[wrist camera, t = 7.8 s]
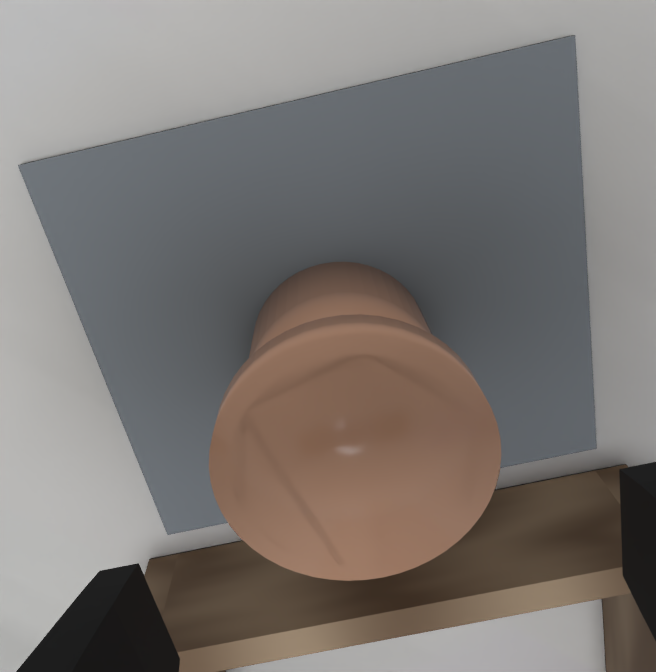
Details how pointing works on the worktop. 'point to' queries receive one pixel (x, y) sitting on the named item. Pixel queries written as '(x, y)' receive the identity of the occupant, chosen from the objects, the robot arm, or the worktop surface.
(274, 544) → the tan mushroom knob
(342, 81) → the worktop surface
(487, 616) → the shallow wooden tray
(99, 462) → the worktop surface
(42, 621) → the worktop surface
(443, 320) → the slate mat
